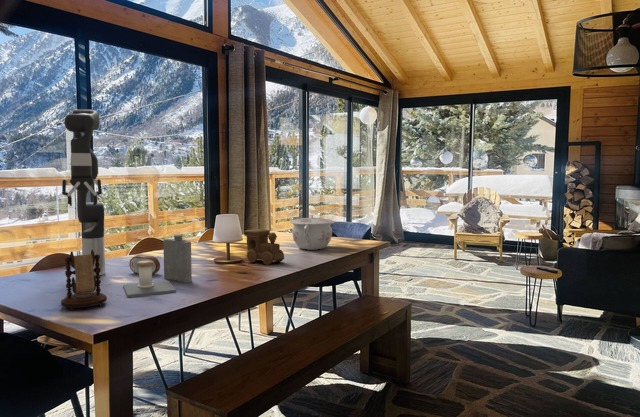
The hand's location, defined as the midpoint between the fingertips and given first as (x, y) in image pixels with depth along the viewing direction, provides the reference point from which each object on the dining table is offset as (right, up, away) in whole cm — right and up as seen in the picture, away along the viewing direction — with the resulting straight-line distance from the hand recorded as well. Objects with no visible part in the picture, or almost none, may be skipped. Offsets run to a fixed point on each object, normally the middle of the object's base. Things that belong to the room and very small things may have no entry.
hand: (82, 205), depth 196 cm
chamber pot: (+90, -26, +104) cm, 140 cm away
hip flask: (+33, -33, +20) cm, 51 cm away
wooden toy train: (+66, -30, +60) cm, 94 cm away
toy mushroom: (+24, -33, +4) cm, 41 cm away
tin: (+13, -32, +32) cm, 47 cm away
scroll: (+11, -36, -21) cm, 43 cm away
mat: (+26, -34, +2) cm, 43 cm away
